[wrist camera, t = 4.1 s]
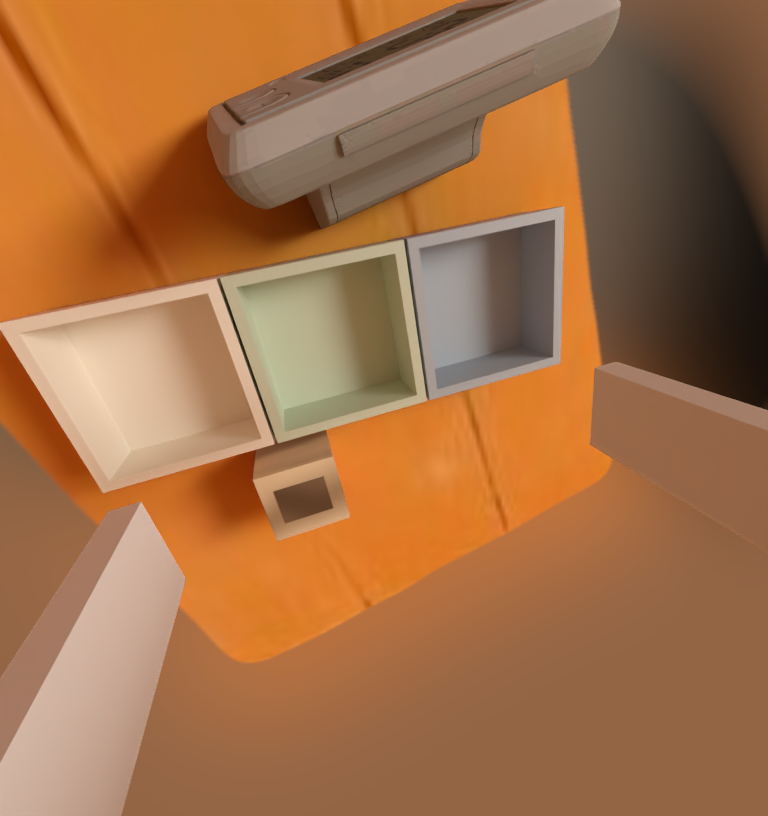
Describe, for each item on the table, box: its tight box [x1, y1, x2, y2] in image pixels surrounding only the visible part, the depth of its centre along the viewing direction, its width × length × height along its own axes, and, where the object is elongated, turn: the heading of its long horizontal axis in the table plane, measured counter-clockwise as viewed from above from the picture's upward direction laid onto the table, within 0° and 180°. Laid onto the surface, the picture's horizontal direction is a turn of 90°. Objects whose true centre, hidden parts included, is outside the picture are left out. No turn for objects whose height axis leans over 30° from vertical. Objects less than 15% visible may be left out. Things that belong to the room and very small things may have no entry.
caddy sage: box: [220, 240, 427, 443], centre depth 24 cm, size 10×10×4 cm
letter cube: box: [253, 430, 350, 541], centre depth 26 cm, size 5×5×5 cm
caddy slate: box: [387, 206, 564, 400], centre depth 25 cm, size 10×10×4 cm
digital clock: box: [207, 0, 621, 229], centre depth 17 cm, size 16×9×11 cm, turn 102°
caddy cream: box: [0, 274, 275, 493], centre depth 22 cm, size 10×10×4 cm
